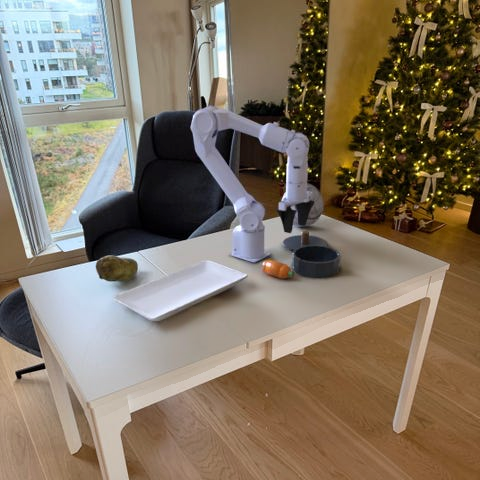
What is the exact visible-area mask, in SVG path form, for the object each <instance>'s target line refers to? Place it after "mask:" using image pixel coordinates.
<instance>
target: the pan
mask: <svg viewBox="0 0 480 480" xmlns="http://www.w3.org/2000/svg"><path fill="white" fill-rule="evenodd" d="M341 257H342V256H341V253H340V252H339V250H337V249H335V248H333V247H330V246H327V247H326V246H319V245H308V246H303V247H299V248H297V249H295V250H294V251H292V258H291V259H292V260H291V266H292V271H293V272H294V273H295V274H297V275H299V276H302V277H305V278H311V279H324V278H325V279H326V278H330V277H333V276H335V275H337V274H338V273H339V270H340V264H341Z"/></svg>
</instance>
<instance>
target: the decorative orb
mask: <svg viewBox="0 0 480 480" xmlns="http://www.w3.org/2000/svg"><path fill="white" fill-rule="evenodd" d="M307 191H309V192H312V199H310V200H312V201H314V205H313V207H312V208H311V210H310V213H309V215H308V219H307V222H306V225H305V226H302V225H299V224H298V213H297V212H296V214H295V217H294V220H293V226H294V227H299V228H304V227H309V226H311V225H313V224H315V223H316V222H317V221H318V220H319V219H320V218H321V217H322V214H323V212H324V208H325V203H324V198H323V195H322V194H321V192H320V191H319V189H318V188H317V187H316V186H314V185H313V184H311V183H308V182H307ZM285 197H286V191H285V192H284V194H283V195H282V198H281V201H282V200H283V199H284V198H285ZM291 208H292V210H297V207H296V205H294V206H291Z"/></svg>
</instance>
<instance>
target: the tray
mask: <svg viewBox="0 0 480 480" xmlns="http://www.w3.org/2000/svg"><path fill="white" fill-rule="evenodd" d="M248 277H249V275H248V274H247V273H246V272H245V273H244V272H243V271H239V270H237V269H234V268H230V267H228V266H225V265H223V264H220V263H217V262H214V261H212V260H208V259H205V260H202V261H199V262H197V263H194V264H191V265H189V266H187V267H184V268H181V269H179V270H176V271H174V272H172V273H169V274H167V275H164V276H161V277H160V278H157V279H154V280H151V281H149V282H146V283H144V284H141V285H139V286H136V287H133V288H131V289H128V290H126V291H124V292H121V293H118V294H116V295H115V296H113V301H115V302H117V303H119V304H120V305H122V306H124V307H127V308H128V309H130V310H132V311H133V312H135V313H136V314H138V315H140V316H142V317H143V318H145V319H147V320H148V321H151V322H161V321H164V320H166V319H168V318H171V317H172V316H174V315H176V314H178V313H180V312H183V311H184V310H186V309H189V308H191V307H193V306H195V305H197V304H199V303H201V302H204V301H206V300H208V299H210V298H213V297H215V296H216V295H219V294H221V293H223V292H226V291H228V290H229V289H231V288H233V287H234V286H236V285H237V284H240V283H241V282H243V281H244V280H245V279H247V278H248Z"/></svg>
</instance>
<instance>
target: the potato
mask: <svg viewBox="0 0 480 480" xmlns="http://www.w3.org/2000/svg"><path fill="white" fill-rule="evenodd" d="M95 270H96V273H97V275H98V278H99V279H100V280H104V281H106V282H109V283H111V282H119V283H124V282H128V281H131V280H132V279H133V278H135V276H136V275H137V273H138V270H139V264H138V262H137V261H136V260H135V259H133V258H132V257H131V258H130V257H124V256H123V257H121V256H117V255H113V254H112V255H105V256H103V257H100V258H99V259H98V260H97V261H96V263H95Z"/></svg>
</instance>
